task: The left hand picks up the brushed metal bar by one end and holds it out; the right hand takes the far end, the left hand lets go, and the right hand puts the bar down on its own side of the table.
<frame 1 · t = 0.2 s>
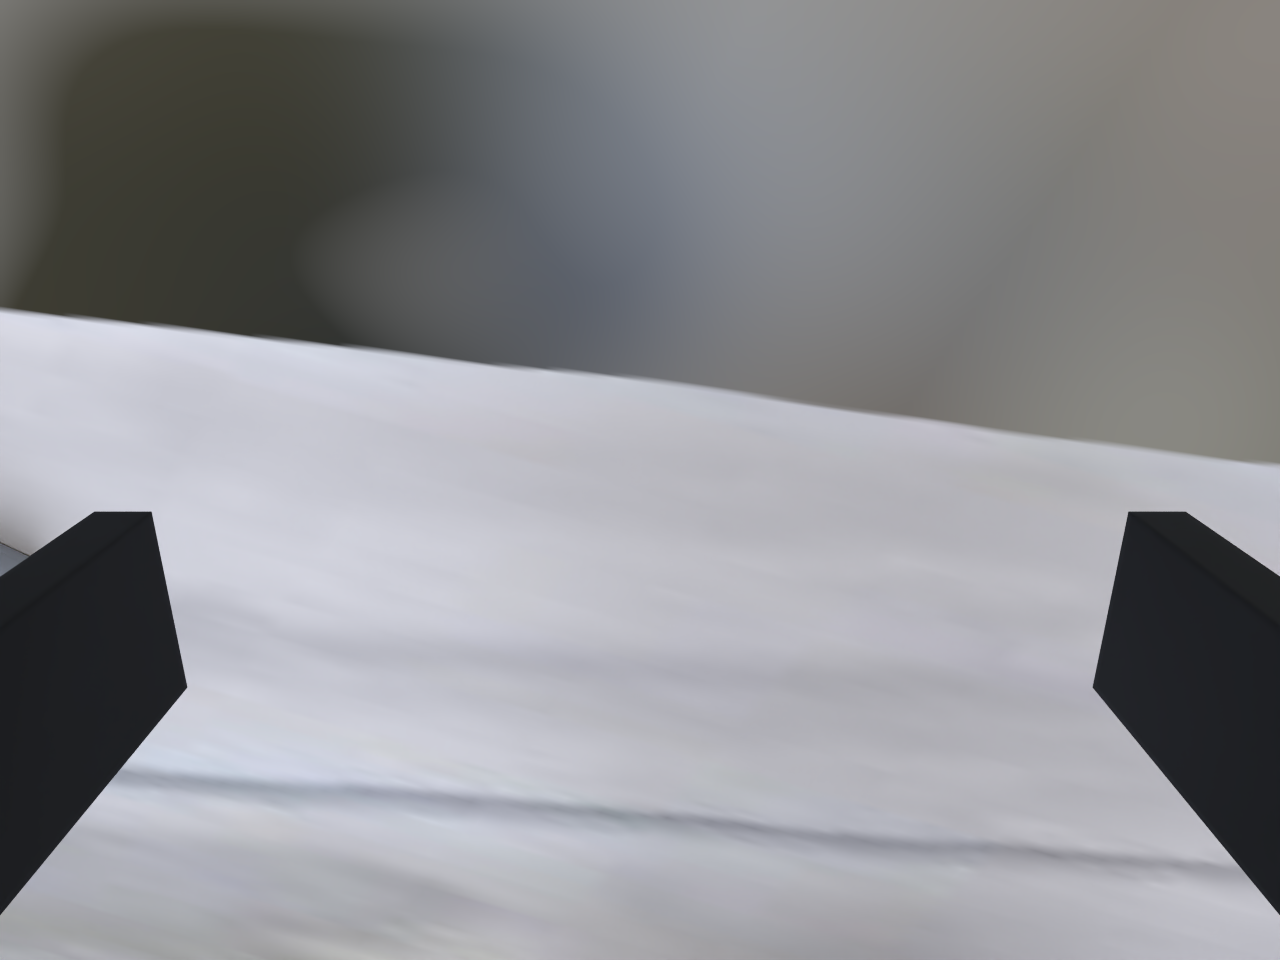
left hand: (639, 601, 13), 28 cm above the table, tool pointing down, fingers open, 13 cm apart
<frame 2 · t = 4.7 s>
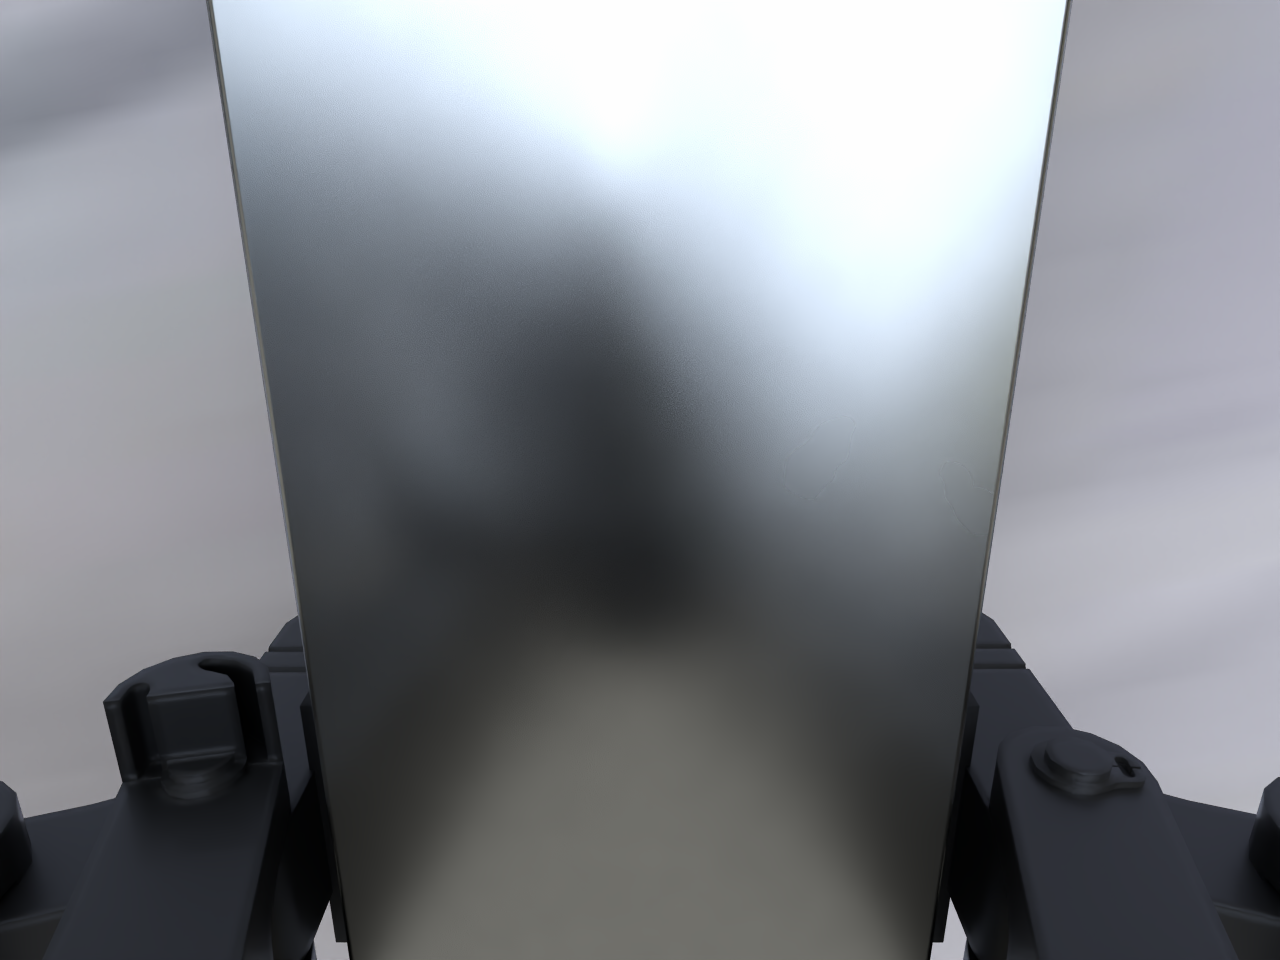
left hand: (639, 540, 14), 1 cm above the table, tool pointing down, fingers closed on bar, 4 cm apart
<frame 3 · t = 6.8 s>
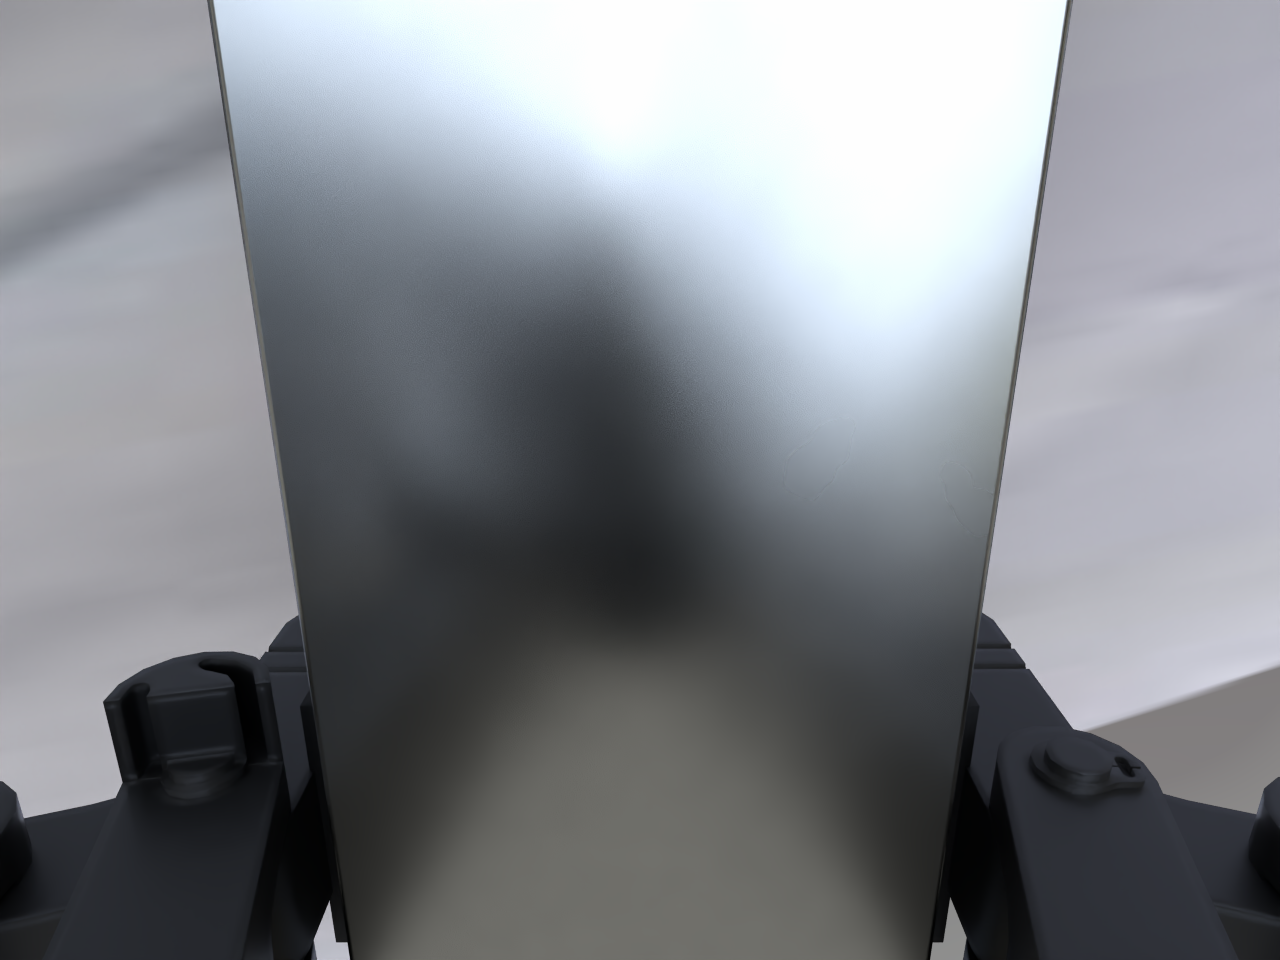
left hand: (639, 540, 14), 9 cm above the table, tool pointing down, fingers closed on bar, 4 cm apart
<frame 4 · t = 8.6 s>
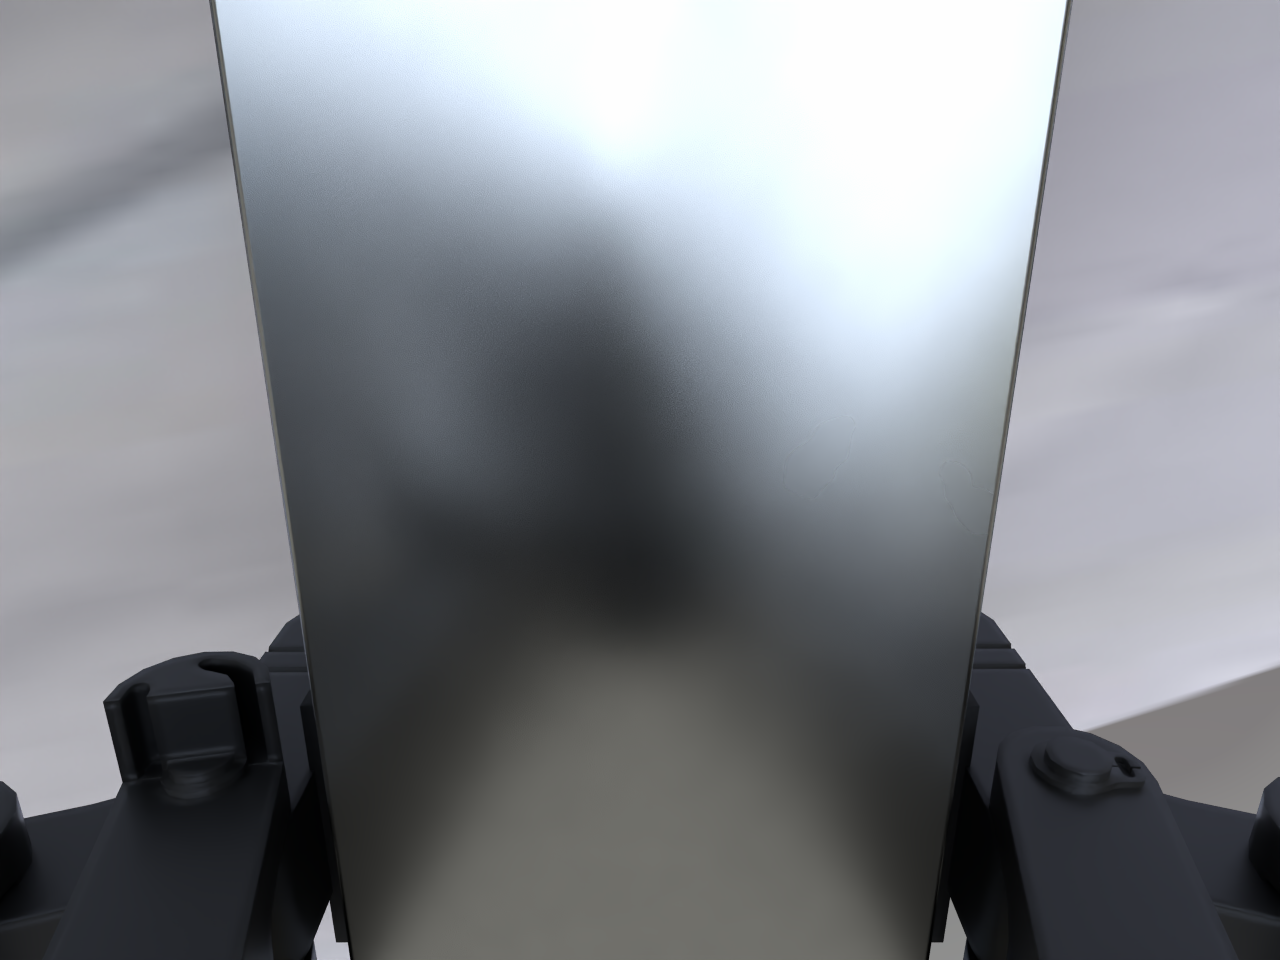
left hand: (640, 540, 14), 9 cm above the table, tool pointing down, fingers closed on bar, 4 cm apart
when the left hand's fingers open (9 cm above the table, at t = 9.4 s): bar stays where it is, held by the right hand.
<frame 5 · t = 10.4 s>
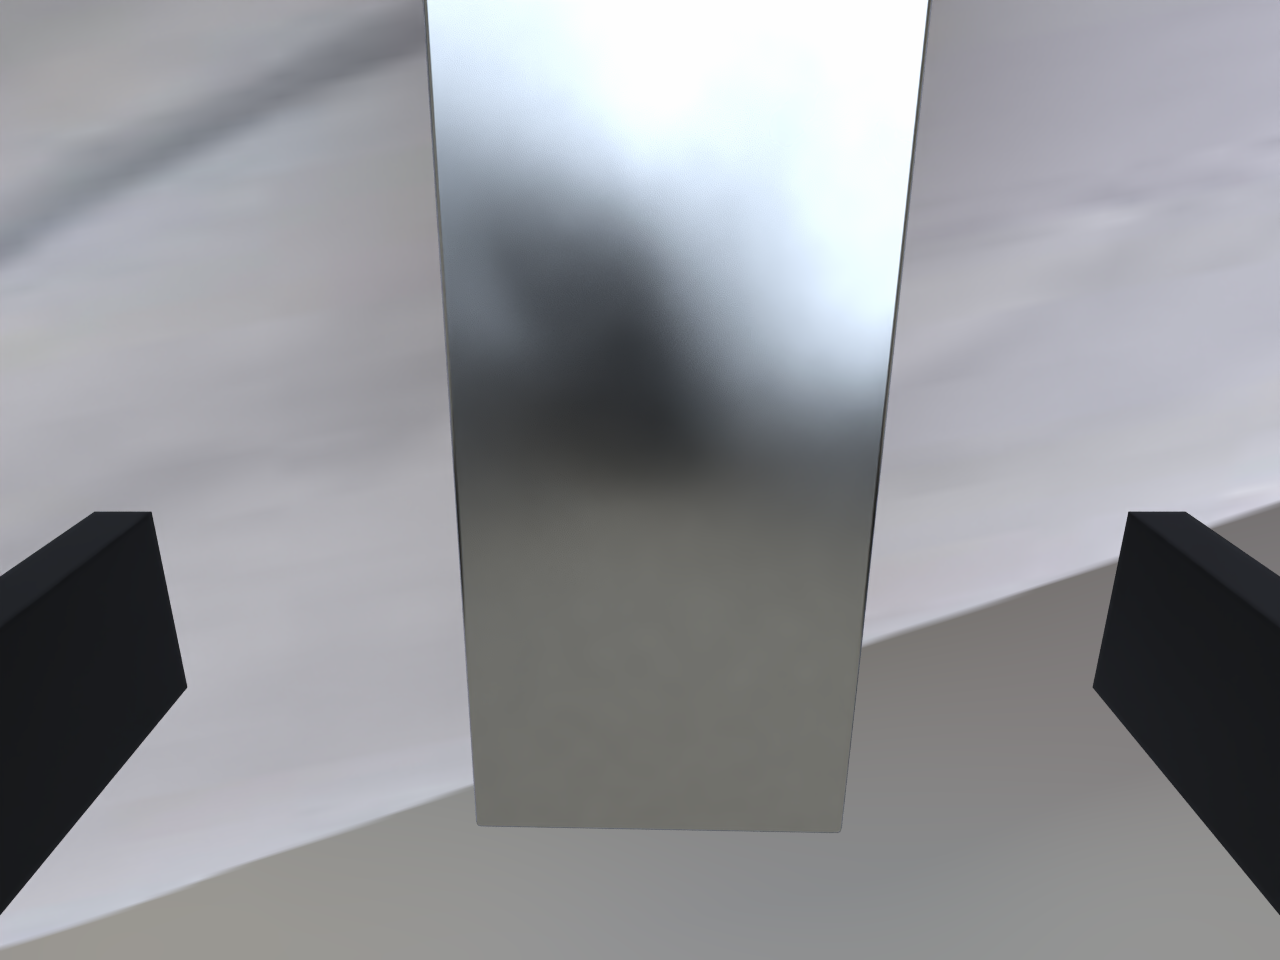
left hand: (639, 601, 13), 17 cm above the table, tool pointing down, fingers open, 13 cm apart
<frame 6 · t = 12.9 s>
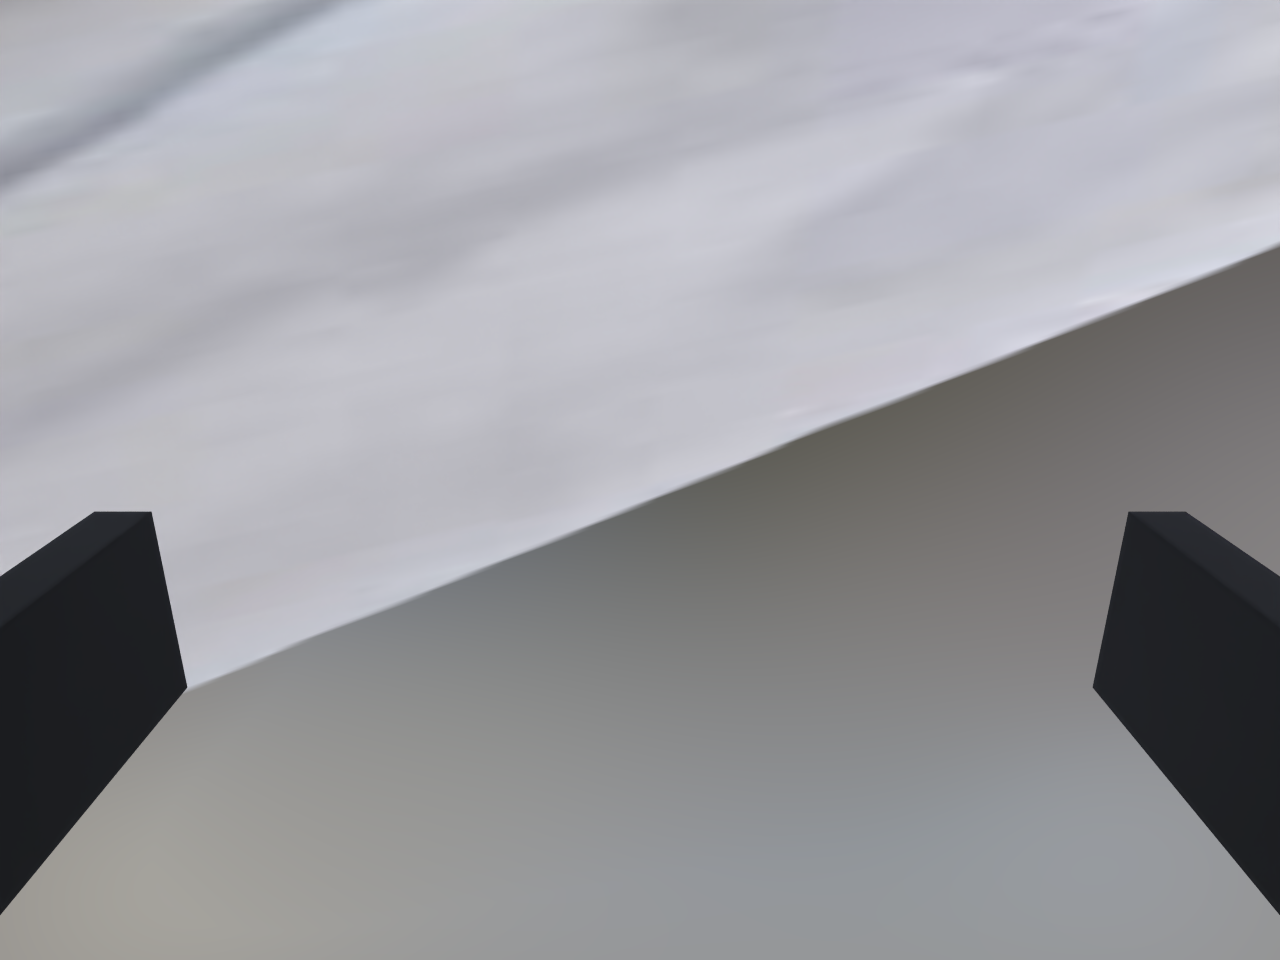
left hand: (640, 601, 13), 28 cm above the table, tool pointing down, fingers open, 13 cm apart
when the right hand's fingers open (5 cm above the table, at t = 17.5 s): bar stays where it is, resting on decorative sign.
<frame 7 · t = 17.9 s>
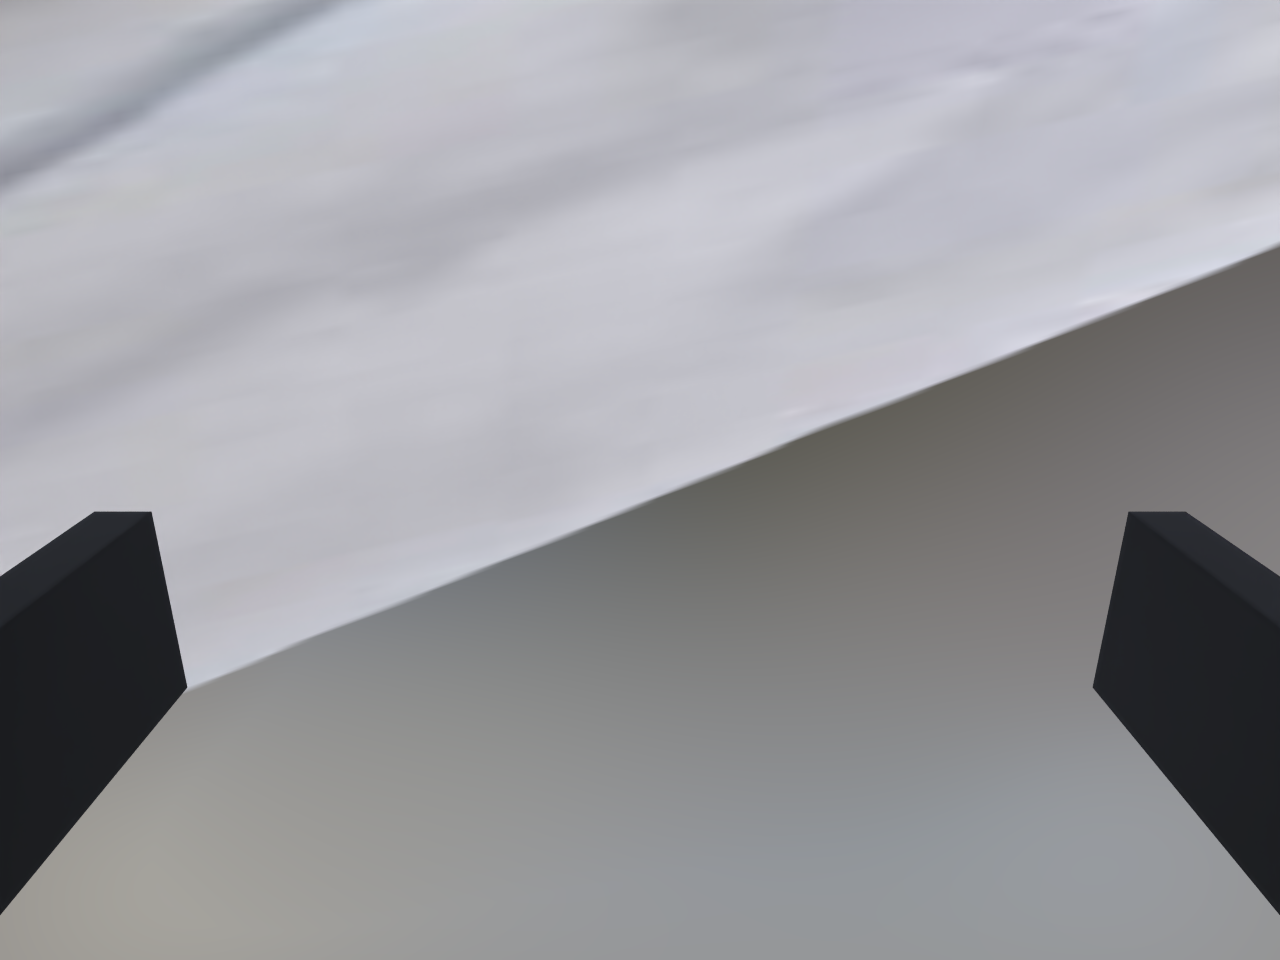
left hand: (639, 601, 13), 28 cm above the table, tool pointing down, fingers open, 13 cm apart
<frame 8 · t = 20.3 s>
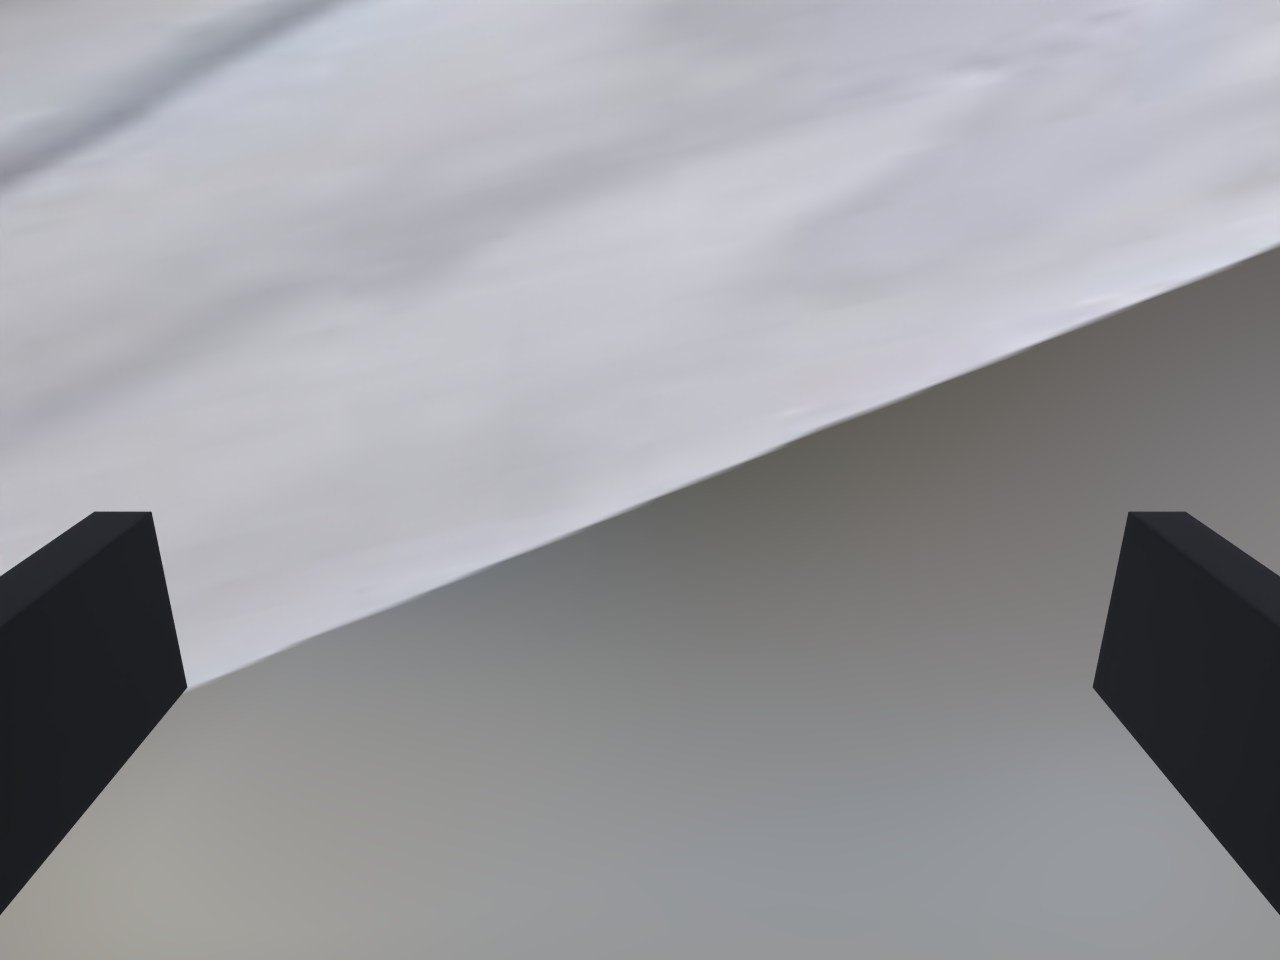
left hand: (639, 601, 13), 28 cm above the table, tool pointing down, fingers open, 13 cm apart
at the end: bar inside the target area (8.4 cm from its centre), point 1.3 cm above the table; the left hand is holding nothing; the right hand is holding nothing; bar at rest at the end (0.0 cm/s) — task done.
